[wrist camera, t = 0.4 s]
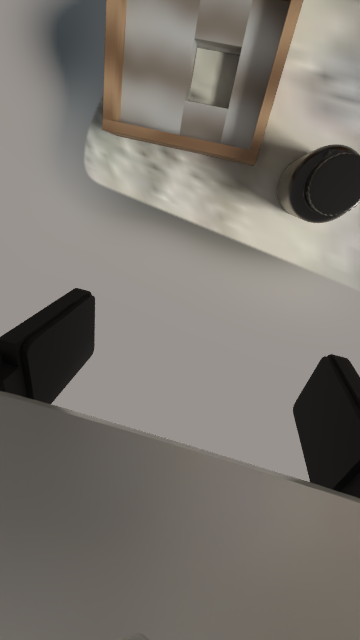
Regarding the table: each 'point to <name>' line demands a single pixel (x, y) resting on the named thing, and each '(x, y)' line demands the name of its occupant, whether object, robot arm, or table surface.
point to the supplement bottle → (321, 184)
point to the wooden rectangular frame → (177, 70)
